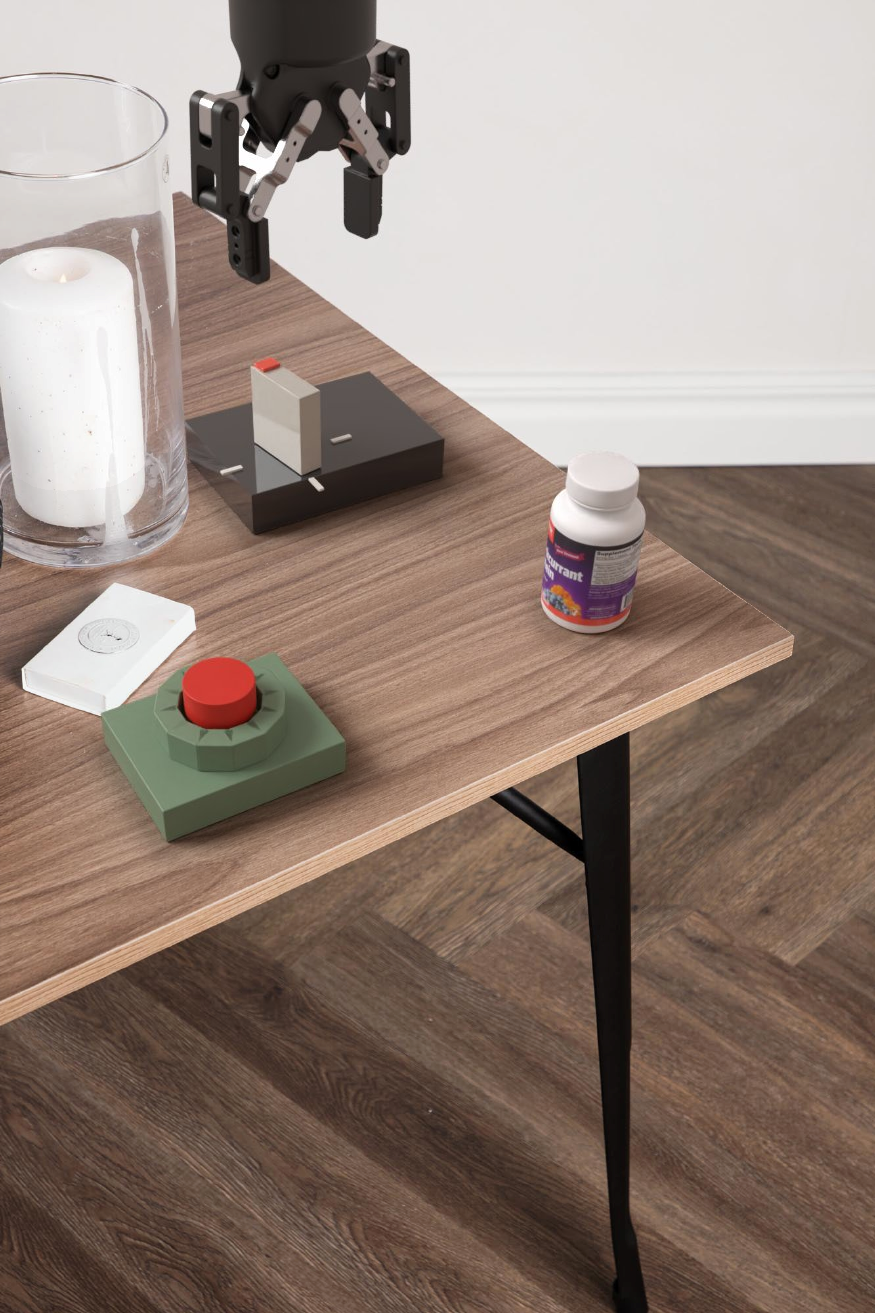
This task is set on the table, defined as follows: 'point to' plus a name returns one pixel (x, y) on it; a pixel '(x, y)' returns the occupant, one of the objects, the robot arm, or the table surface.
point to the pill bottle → (594, 544)
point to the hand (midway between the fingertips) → (308, 255)
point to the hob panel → (352, 455)
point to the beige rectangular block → (286, 416)
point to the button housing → (222, 751)
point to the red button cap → (219, 693)
